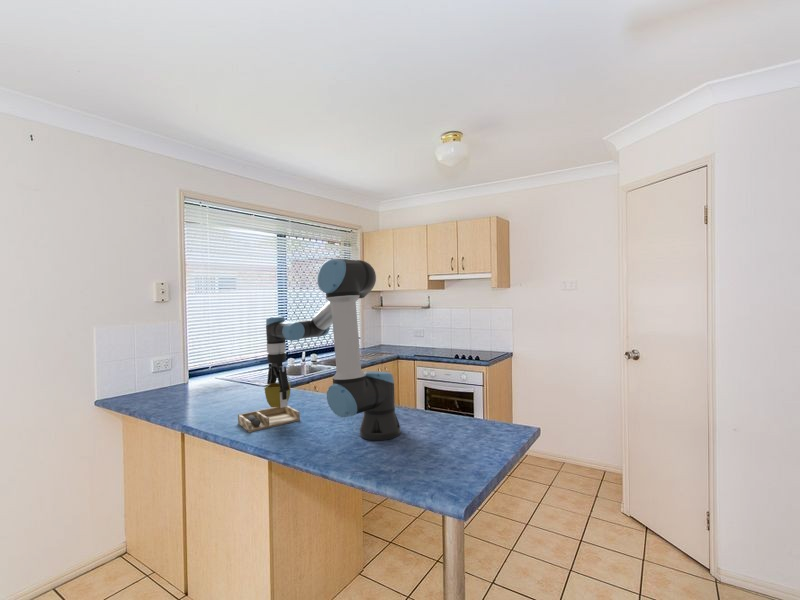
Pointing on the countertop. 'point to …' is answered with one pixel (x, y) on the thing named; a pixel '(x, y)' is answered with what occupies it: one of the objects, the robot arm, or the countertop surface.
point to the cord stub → (253, 420)
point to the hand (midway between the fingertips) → (278, 404)
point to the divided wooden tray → (269, 418)
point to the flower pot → (274, 394)
